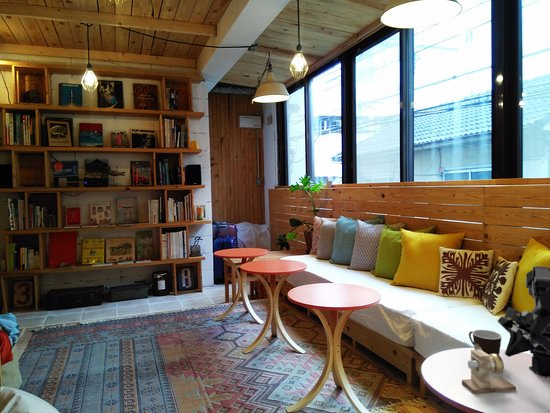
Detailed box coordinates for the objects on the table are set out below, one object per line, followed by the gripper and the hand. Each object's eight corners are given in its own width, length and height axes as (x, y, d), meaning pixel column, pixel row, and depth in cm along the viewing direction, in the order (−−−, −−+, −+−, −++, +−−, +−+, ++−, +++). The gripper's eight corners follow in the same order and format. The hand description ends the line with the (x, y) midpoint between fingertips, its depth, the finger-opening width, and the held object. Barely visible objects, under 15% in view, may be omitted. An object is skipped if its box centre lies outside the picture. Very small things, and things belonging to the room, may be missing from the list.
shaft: (492, 367, 116) (492, 350, 116) (504, 375, 111) (504, 358, 111) (464, 369, 115) (464, 352, 115) (475, 377, 110) (475, 360, 110)
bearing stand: (502, 380, 117) (501, 347, 117) (516, 390, 111) (516, 355, 111) (461, 383, 116) (461, 349, 116) (474, 394, 110) (473, 358, 110)
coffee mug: (505, 370, 124) (505, 339, 124) (477, 368, 126) (477, 338, 125) (493, 355, 135) (493, 327, 135) (466, 353, 137) (466, 326, 137)
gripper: (502, 291, 123) (470, 326, 123) (547, 308, 105) (509, 349, 104) (526, 314, 124) (493, 349, 124) (574, 335, 105) (536, 376, 105)
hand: (506, 355), depth 114 cm, fingers closed
